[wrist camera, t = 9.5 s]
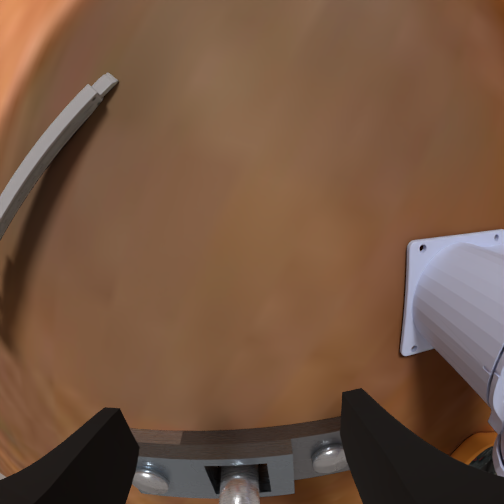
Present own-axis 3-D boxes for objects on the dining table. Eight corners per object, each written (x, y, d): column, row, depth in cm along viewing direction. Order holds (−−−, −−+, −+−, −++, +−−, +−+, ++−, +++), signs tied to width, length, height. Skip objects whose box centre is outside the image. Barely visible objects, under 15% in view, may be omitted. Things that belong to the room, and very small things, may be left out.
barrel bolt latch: (353, 413, 20) (367, 448, 16) (347, 457, 21) (357, 489, 17) (125, 428, 20) (111, 460, 16) (148, 469, 21) (139, 499, 18)
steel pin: (253, 439, 20) (255, 513, 13) (260, 458, 21) (264, 527, 14) (218, 444, 20) (212, 516, 13) (228, 463, 21) (225, 530, 14)
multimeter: (469, 428, 22) (483, 447, 19) (526, 424, 24) (537, 436, 20) (423, 477, 24) (433, 496, 20) (492, 465, 25) (501, 478, 22)
